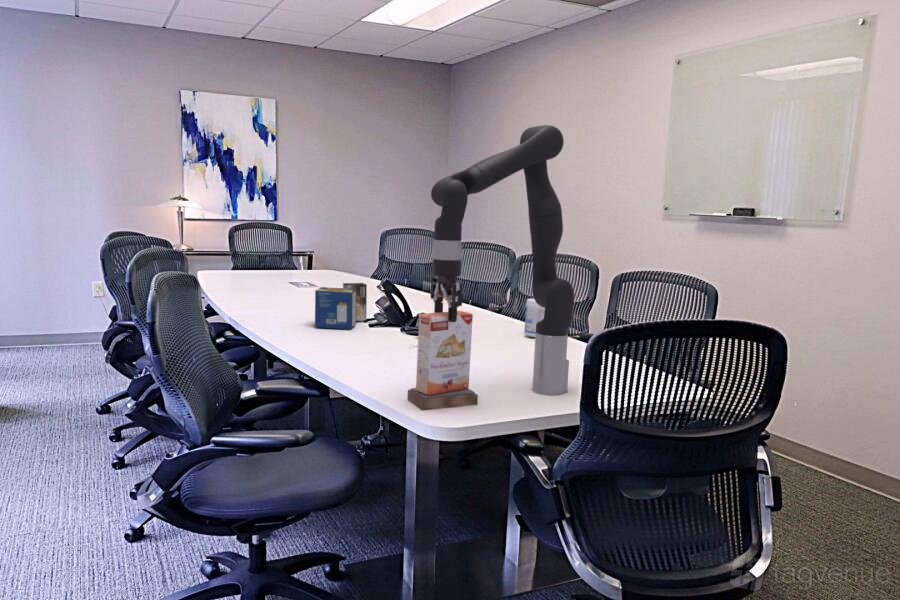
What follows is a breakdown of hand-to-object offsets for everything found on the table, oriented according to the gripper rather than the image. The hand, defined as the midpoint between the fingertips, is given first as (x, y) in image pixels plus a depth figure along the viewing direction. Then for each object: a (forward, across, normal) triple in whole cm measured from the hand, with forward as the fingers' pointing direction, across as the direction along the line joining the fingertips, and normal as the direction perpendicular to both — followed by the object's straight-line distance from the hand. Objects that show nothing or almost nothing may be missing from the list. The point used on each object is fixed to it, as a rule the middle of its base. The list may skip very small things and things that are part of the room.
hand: (445, 319), depth 179 cm
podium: (+23, 0, 0) cm, 23 cm away
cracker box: (+20, 0, 0) cm, 20 cm away
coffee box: (+23, +125, -16) cm, 128 cm away
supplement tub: (+23, +73, -76) cm, 108 cm away
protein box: (+23, +113, -3) cm, 115 cm away
